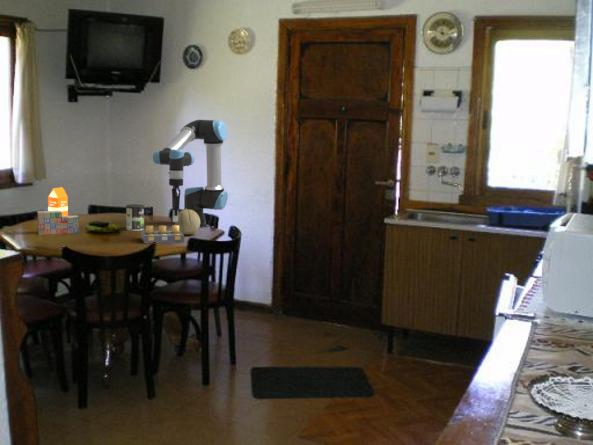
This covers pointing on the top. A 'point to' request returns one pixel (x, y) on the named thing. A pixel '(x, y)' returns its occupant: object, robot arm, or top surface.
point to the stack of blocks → (57, 223)
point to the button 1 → (149, 229)
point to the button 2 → (175, 229)
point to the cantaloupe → (188, 221)
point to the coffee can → (135, 217)
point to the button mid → (162, 229)
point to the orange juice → (58, 201)
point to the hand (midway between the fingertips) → (175, 221)
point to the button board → (162, 237)
